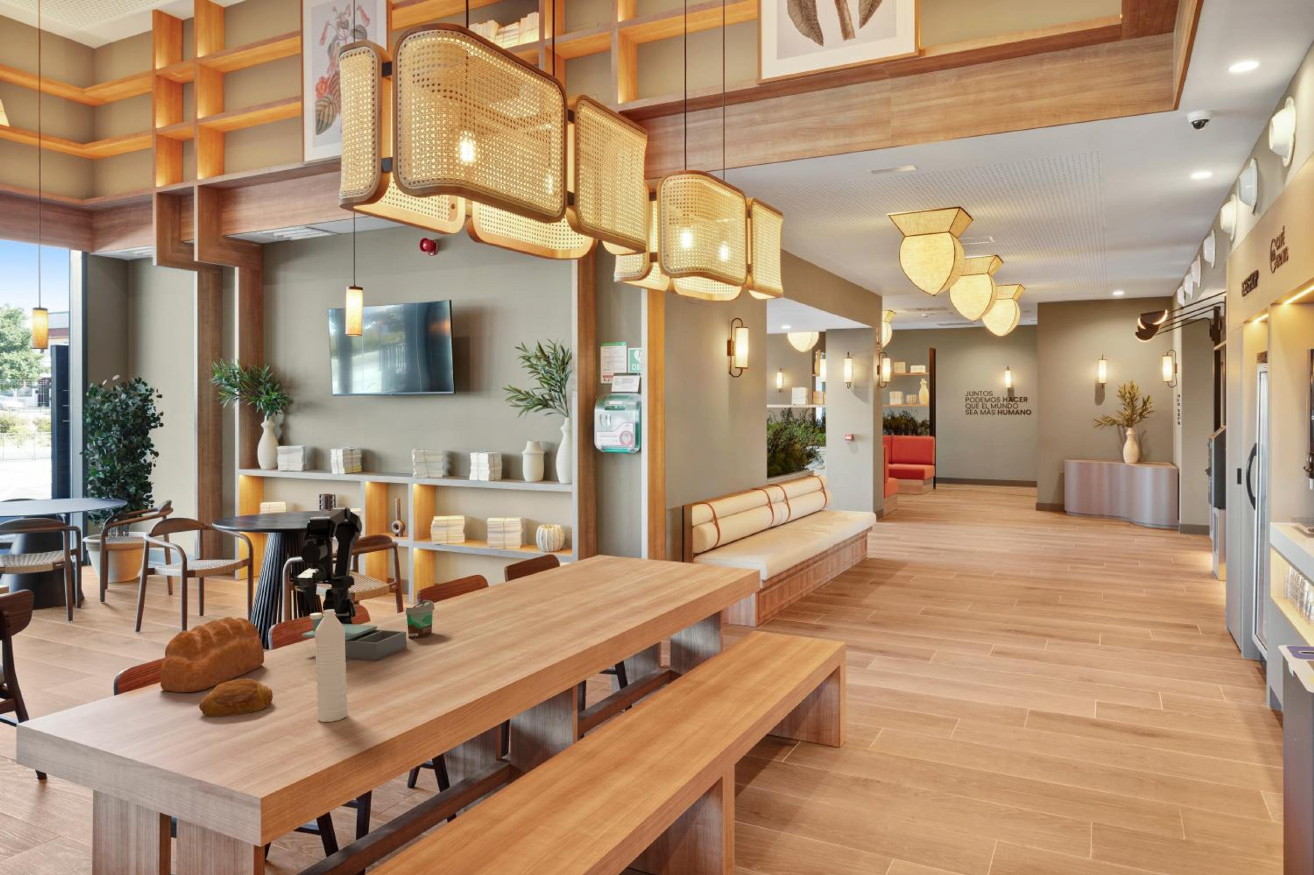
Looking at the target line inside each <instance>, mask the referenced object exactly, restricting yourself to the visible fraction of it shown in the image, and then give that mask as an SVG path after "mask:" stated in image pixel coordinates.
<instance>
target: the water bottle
mask: <svg viewBox="0 0 1314 875" xmlns="http://www.w3.org/2000/svg"><path fill="white" fill-rule="evenodd" d="M334 611H335V610H333V609H329V610H325V611H324V612H323V614H322V612H313V613H310V614H309V619H310V620H313V619H320V618H322V615H324V617H323V619H322V620H321V622H320V624H319V625H318V627H317V628H316V631H315V638H314V642H315V645H314V646H315V674H316V676H315V677H316V678H315V682H316V698H317V700H316V707H317V709H316V713H317V714H316V718H317V721H320V722H323V723H326V722H327V723H330V722H331V723H332V722H335V721H336V722H337V721H342V720H343V719H345V718H347V716H348V697H347V694H348V692H347V691H348V689H347V661H346V659H347V658H345V656H346V655H345V629H344V627H343V625H342V624H341V622H340V621H339V620H338V619H337V617H336V616H335V614H336V613H335V612H334ZM318 617H319V618H318Z"/></svg>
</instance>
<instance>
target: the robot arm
mask: <svg viewBox="0 0 1314 875" xmlns="http://www.w3.org/2000/svg"><path fill="white" fill-rule="evenodd" d="M362 531H363V524H362V521H361V518H360V516H358V514H355V513H354V512H352V511H351V508H350V507H348V506H341V507H340V506H339V507H334V508H332V510H331V511H329V512H327V513H326V514H324V515H323V516H320V515H319V516H311V517H310V518H309V520H308V521H307V524H306V529H305V533H304V537H303V541H304V542H307V543H306V545H304V546H303V547H302V549H301V551H300V557H301V559H302V561H303V562H305V563H307V564H308V565H309V567H308V569H306V570H304V571H303V572H302V573H301V574H299V575H295V576H294V577H293V579H292V583H293V584H292V587H293V586H294V587H296V589H298V590H300V591H301V592H303V594H304V596H305V598H306V600H307V603H308V605H309V607H310V609H315V605H316V599H317V589H318V584H319V585H330V586H331V587H330V588H326V590H325V594H324V595H325V596H324V599H323V602H322V611H323V613H324V611H325V610H329V609H333V610H335V611H334V612H335V613H336V614H335V616H336V617H337V619H338V620H339V621H340V622H341V624H354V622H353V621H352V618H356V617H357V607H356V606H355V602H354V601H353V599H352V598H353V595H352V594H351V592H350V588H352V586H355V577H354V576H352V575H350V573H351V565H352V564H351V563H352V558H353V557H352V556H353V549H354V545H355V544H356V543H357V542H358V541H359V540H360V536H361V533H362ZM334 538H335V539H336V540H337V551H336V559H334V550H333V548H334V547H333V545H334V544H333V540H334ZM334 564H335V565H334Z"/></svg>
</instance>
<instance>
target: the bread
mask: <svg viewBox="0 0 1314 875" xmlns="http://www.w3.org/2000/svg"><path fill="white" fill-rule="evenodd" d="M263 646H264V645H263V643H262V640H261V639H260V632H259V629H258V627H257V625H255V624H254V623H252V622H251V621H250V620H248V619H247V618H245V617H236V618H233V617H232V616H228V617H223V618H220V619H218V620H211V621H209V622H207V623H204V624H203V625H195V626H194V627H192V629H190V630H185V629H184V630H181V631H180V632H179V633H177V634H176V635H175V636H174V637H173V638H171V640H170V641H169V642H168V643H167V645H166V647H165V650H164V661H163V662H162V664H161V668H160V688H161V690H163V691H167V692H175V693H194V692H195V693H196V692H200V691H204V690H207V689H209V688H212V687H214V686H215V687H216V686H217V685H218V684H220V683H223V682H228V681H231V680H233V679H234V678H237V677H240V676H242V675H245V674H247V673H250V672H252V671H254V670H257V669H258V668H259V667H261V666H262V665H264V662H265V653H264V647H263Z"/></svg>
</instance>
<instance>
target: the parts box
mask: <svg viewBox="0 0 1314 875" xmlns="http://www.w3.org/2000/svg"><path fill="white" fill-rule="evenodd" d="M407 644H408V642H407V631H400V630H387V629H375V630H372V631H370V632H367V633H364V634H362V635H359V636H356V637H354V638H351V639H348V640H345V655H346V656H345V658H346V659H348V660H349V659H350V660H359V661H371V662H374V661H375V662H378V661H381V660H382V659H384V658H387V657H390V656H391V655H394V654H396V653H399V652H401V651H403V650H406V649H407V647H408V645H407Z"/></svg>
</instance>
